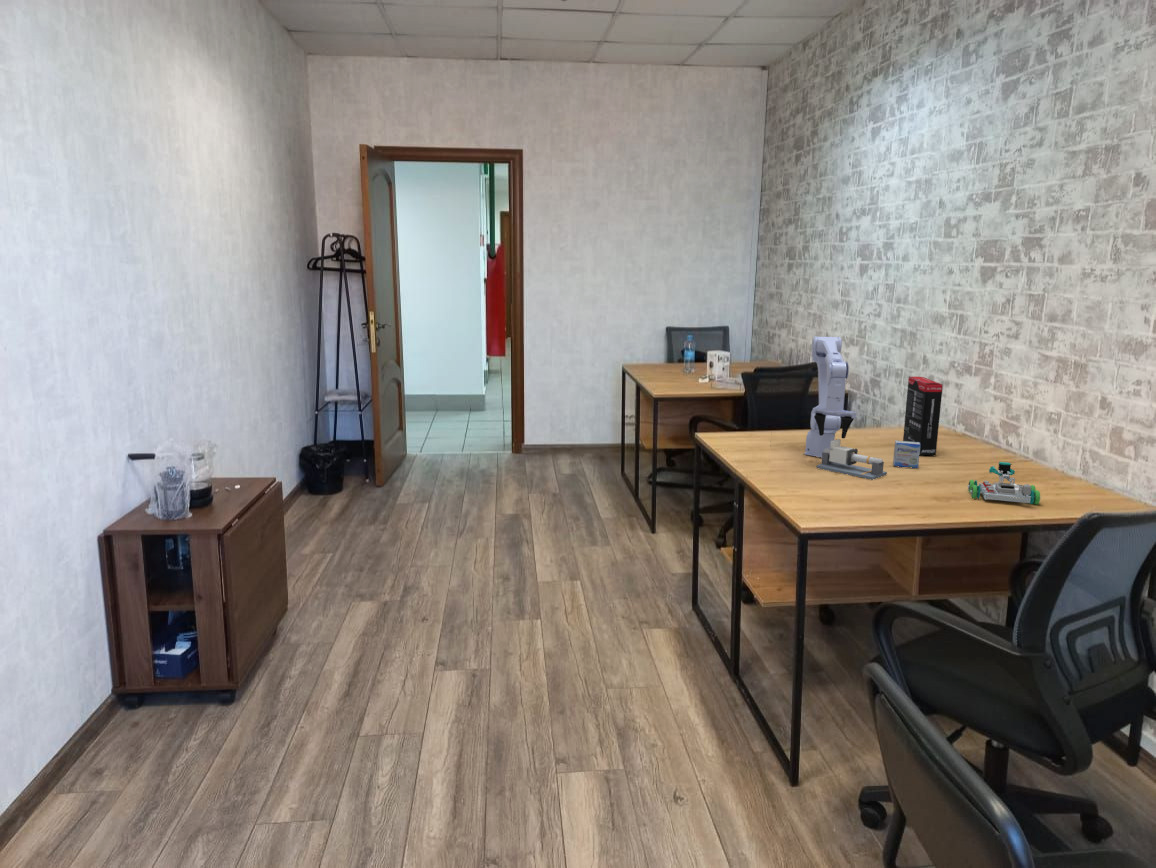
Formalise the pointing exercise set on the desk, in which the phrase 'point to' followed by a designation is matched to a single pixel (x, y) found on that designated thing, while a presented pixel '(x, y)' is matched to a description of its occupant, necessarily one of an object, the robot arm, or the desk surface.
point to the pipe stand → (854, 466)
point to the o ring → (850, 456)
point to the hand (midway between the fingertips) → (832, 436)
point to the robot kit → (1004, 487)
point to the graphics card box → (923, 413)
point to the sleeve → (838, 452)
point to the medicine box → (906, 454)
